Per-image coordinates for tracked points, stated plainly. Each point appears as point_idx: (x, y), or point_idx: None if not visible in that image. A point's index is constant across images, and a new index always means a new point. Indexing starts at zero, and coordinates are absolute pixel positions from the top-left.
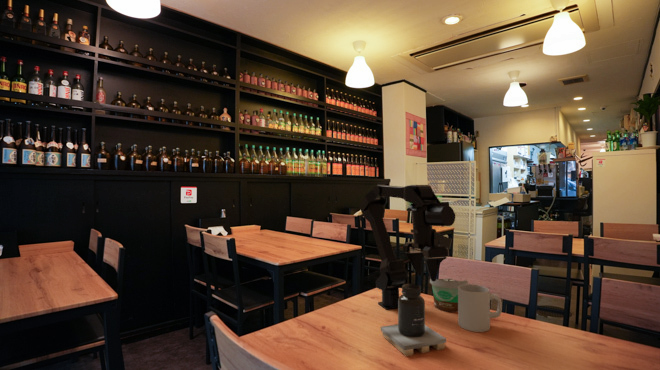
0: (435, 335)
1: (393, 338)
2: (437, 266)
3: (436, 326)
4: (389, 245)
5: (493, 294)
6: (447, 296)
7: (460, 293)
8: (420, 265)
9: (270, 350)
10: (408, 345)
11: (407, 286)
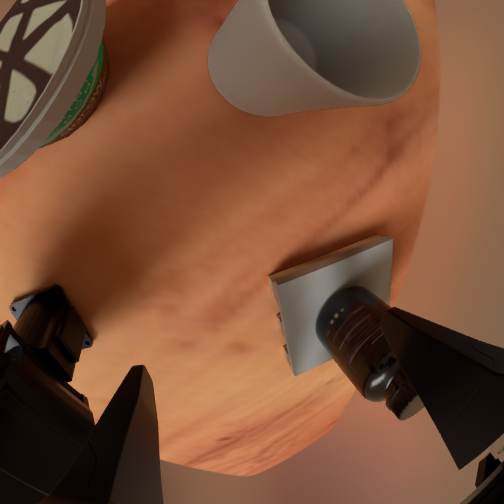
0: (374, 259)
1: None
2: (485, 356)
3: (248, 203)
4: None
5: None
6: (84, 92)
7: (353, 106)
8: (132, 441)
9: (293, 453)
10: None
11: (420, 406)
